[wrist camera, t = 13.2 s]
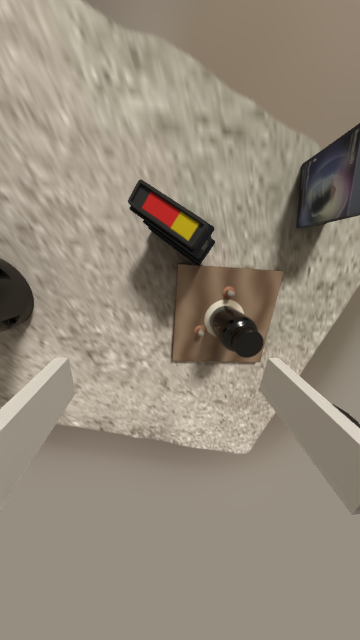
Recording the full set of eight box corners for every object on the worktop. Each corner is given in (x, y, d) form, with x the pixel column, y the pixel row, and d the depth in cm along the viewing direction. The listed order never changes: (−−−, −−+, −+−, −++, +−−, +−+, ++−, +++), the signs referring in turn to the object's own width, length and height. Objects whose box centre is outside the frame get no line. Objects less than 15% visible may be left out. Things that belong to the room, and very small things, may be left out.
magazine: (208, 275, 34) (192, 251, 19) (160, 240, 36) (114, 196, 22) (220, 259, 33) (212, 221, 18) (170, 224, 35) (129, 167, 21)
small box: (299, 163, 30) (364, 115, 20) (334, 157, 30) (417, 106, 20) (294, 229, 33) (347, 216, 23) (326, 224, 33) (392, 208, 24)
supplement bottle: (228, 338, 39) (253, 370, 27) (203, 326, 37) (218, 354, 26) (245, 312, 37) (279, 336, 26) (219, 299, 35) (243, 317, 24)
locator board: (172, 357, 41) (172, 365, 38) (178, 264, 34) (179, 264, 31) (256, 358, 43) (264, 366, 40) (279, 271, 36) (290, 272, 33)
